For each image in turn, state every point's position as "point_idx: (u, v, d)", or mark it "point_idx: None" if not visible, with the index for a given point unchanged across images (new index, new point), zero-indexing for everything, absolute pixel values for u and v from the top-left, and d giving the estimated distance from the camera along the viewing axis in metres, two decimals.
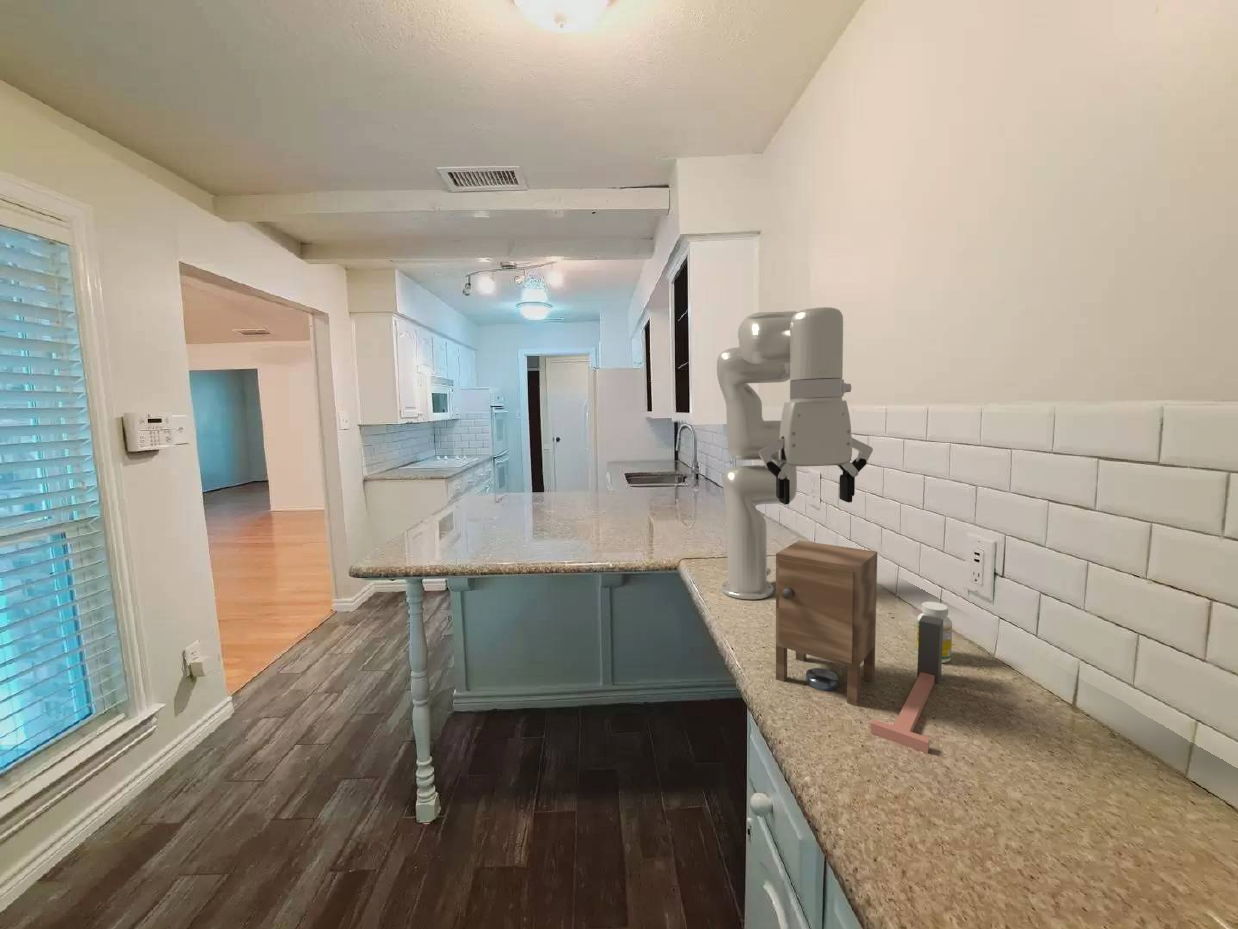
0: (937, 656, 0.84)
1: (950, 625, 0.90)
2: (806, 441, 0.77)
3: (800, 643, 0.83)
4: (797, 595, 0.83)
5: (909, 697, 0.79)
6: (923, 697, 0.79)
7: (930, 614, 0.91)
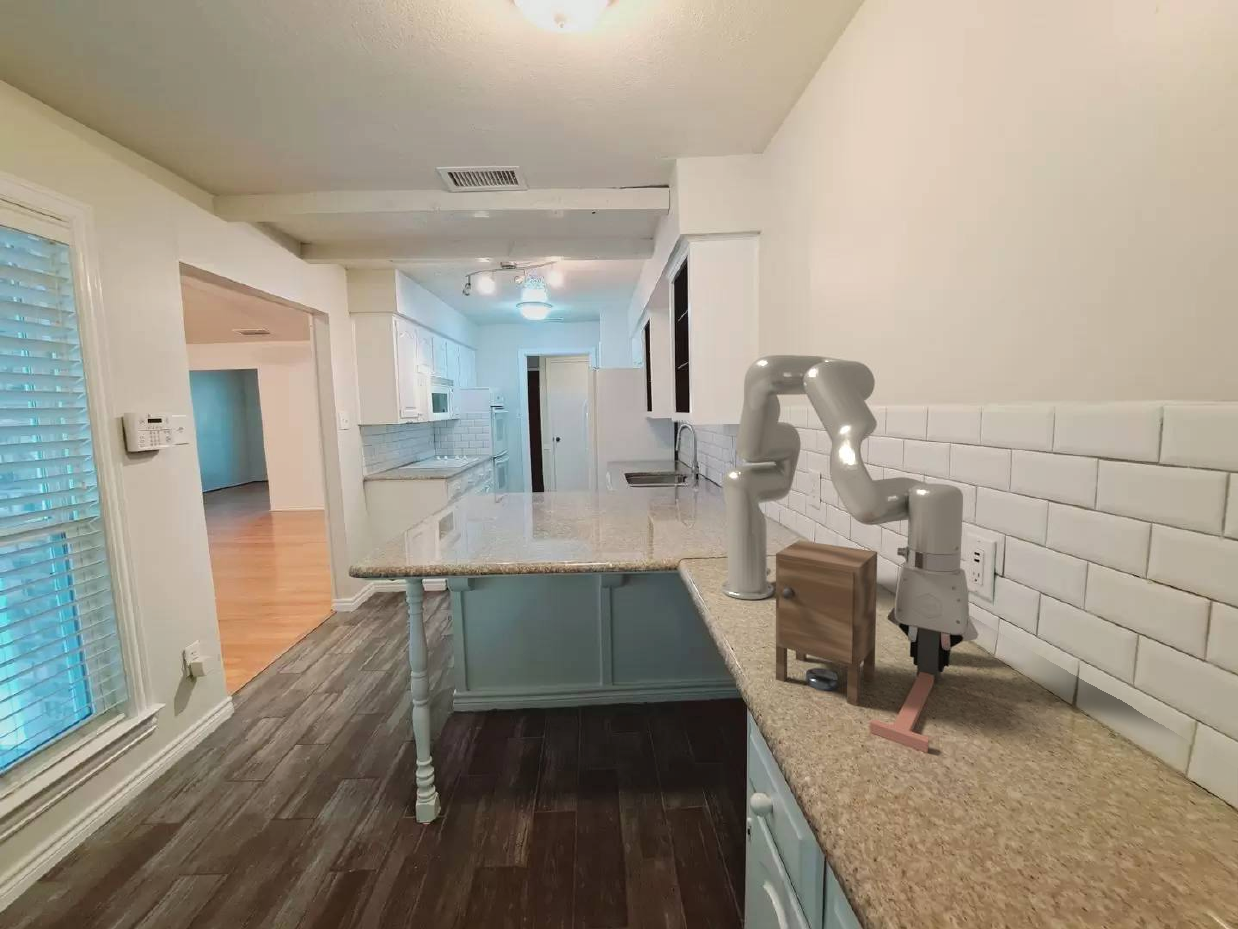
0: (937, 656, 0.84)
1: None
2: None
3: (800, 643, 0.83)
4: (797, 595, 0.83)
5: (909, 697, 0.79)
6: (923, 697, 0.79)
7: None
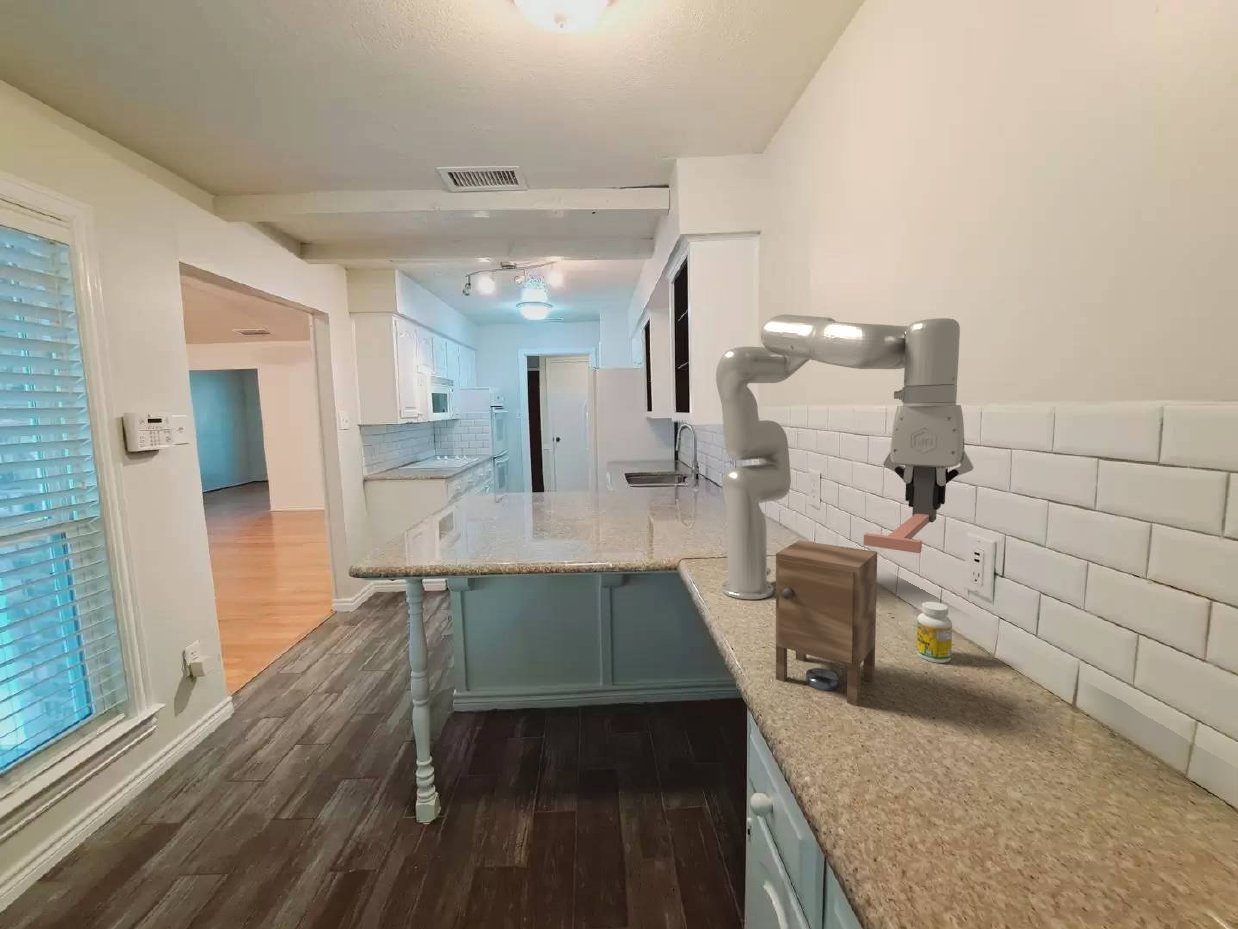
0: (932, 494, 0.84)
1: (950, 625, 0.90)
2: None
3: (800, 643, 0.83)
4: (797, 595, 0.83)
5: (903, 524, 0.79)
6: (917, 524, 0.79)
7: (930, 614, 0.91)
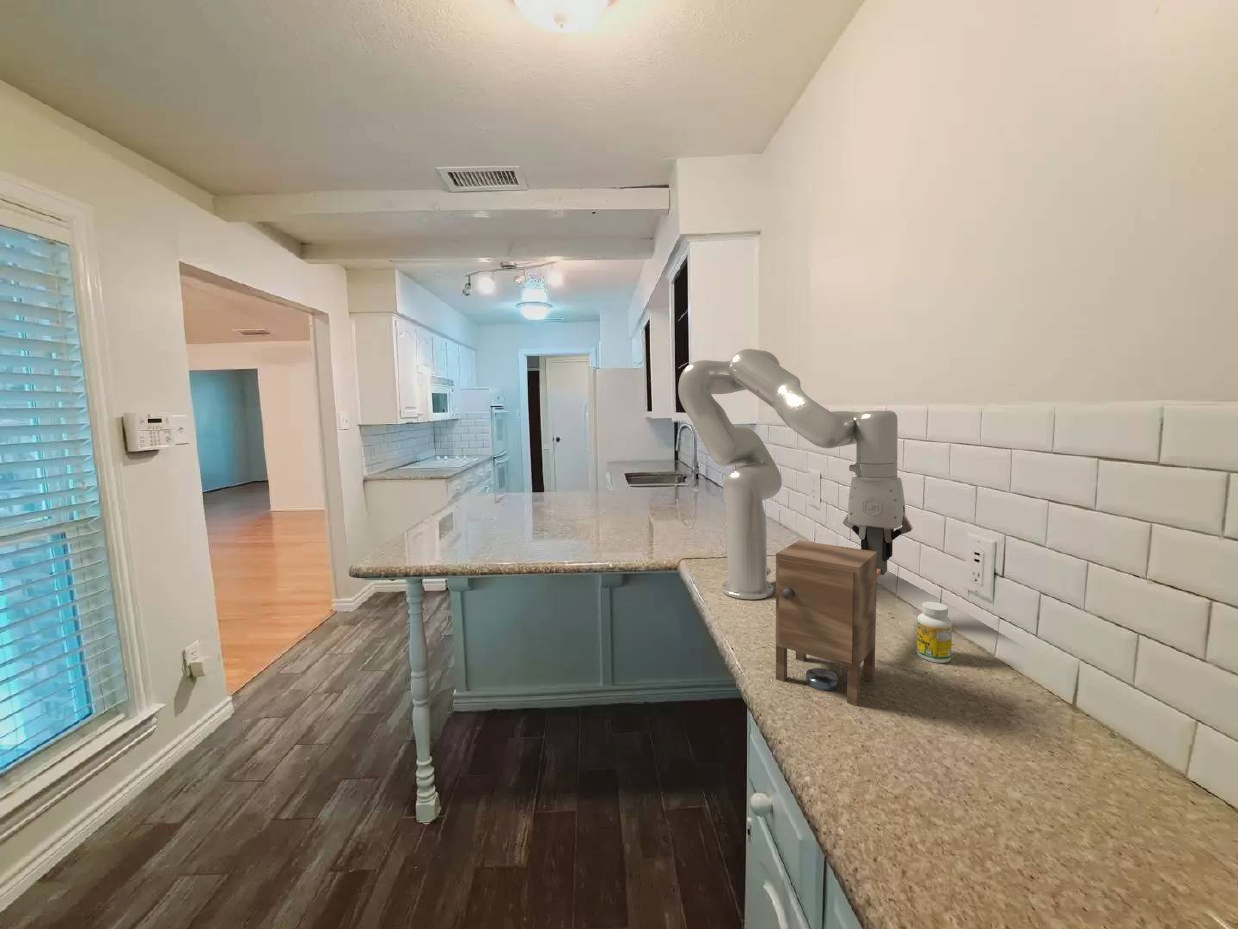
0: None
1: (950, 625, 0.90)
2: None
3: (800, 643, 0.83)
4: (797, 595, 0.83)
5: None
6: None
7: (930, 614, 0.91)
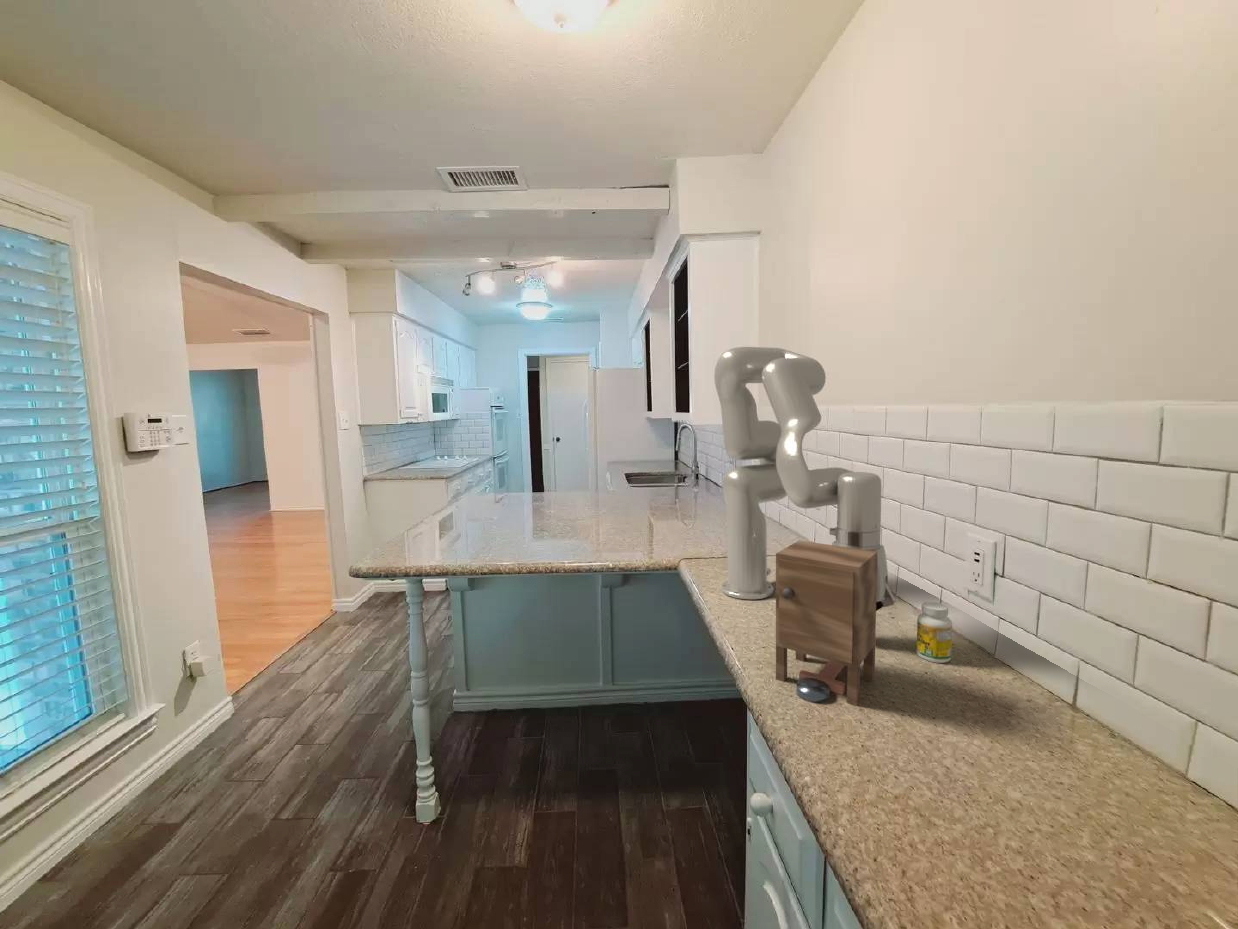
0: None
1: (950, 625, 0.90)
2: None
3: (800, 643, 0.83)
4: (797, 595, 0.83)
5: None
6: None
7: (930, 614, 0.91)
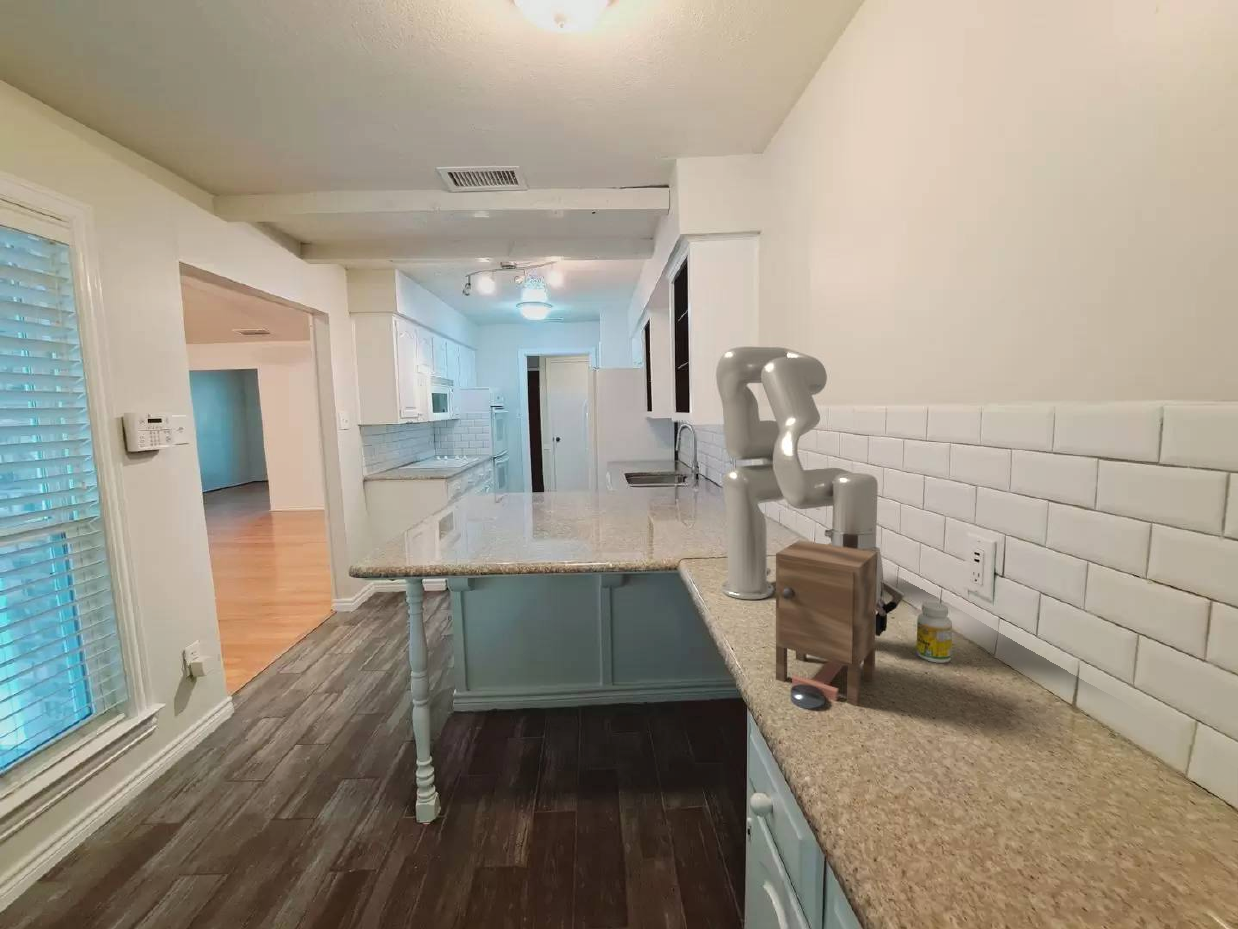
0: None
1: (950, 625, 0.90)
2: None
3: (800, 643, 0.83)
4: (797, 595, 0.83)
5: None
6: None
7: (930, 614, 0.91)
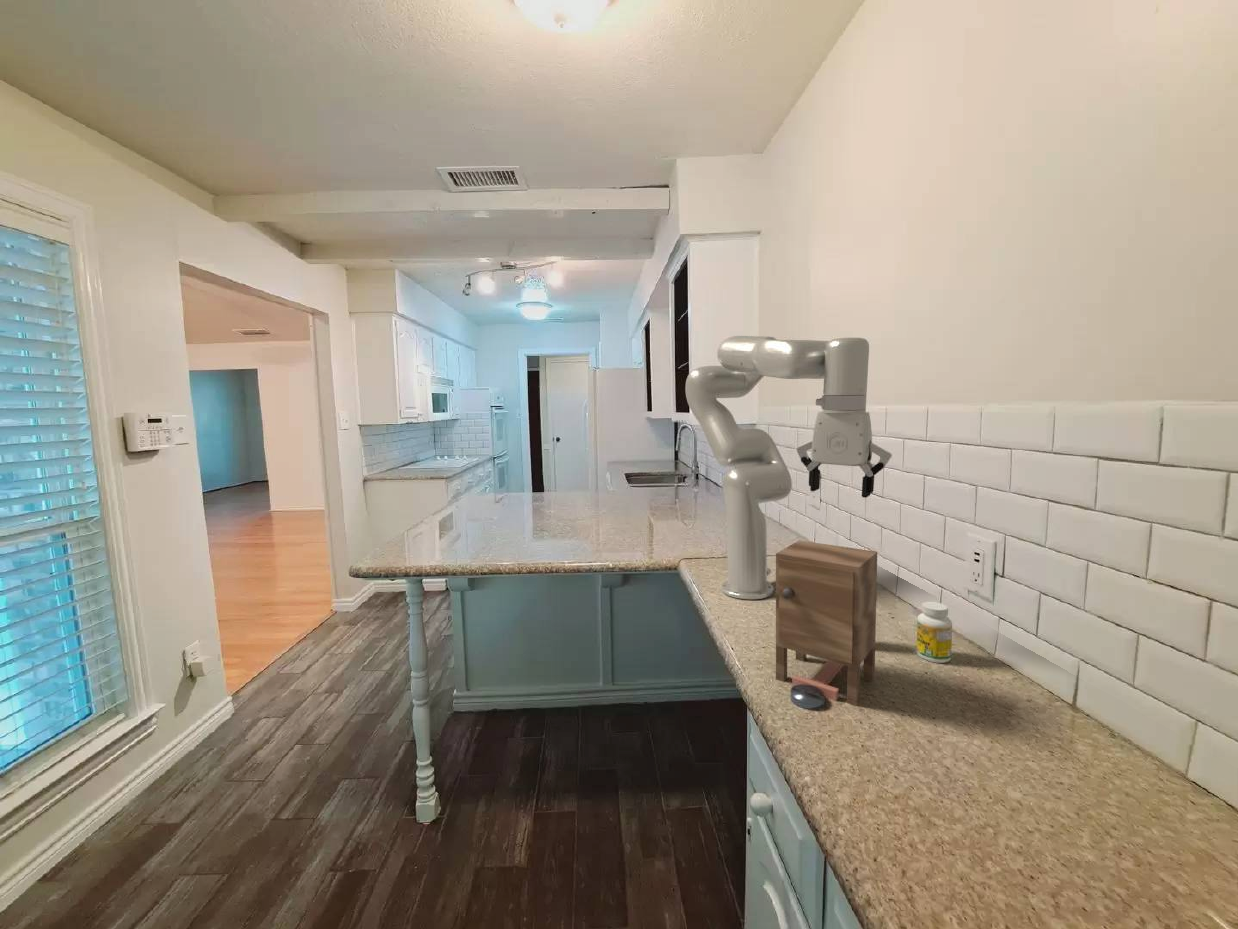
0: None
1: (950, 625, 0.90)
2: None
3: (800, 643, 0.83)
4: (797, 595, 0.83)
5: None
6: None
7: (930, 614, 0.91)
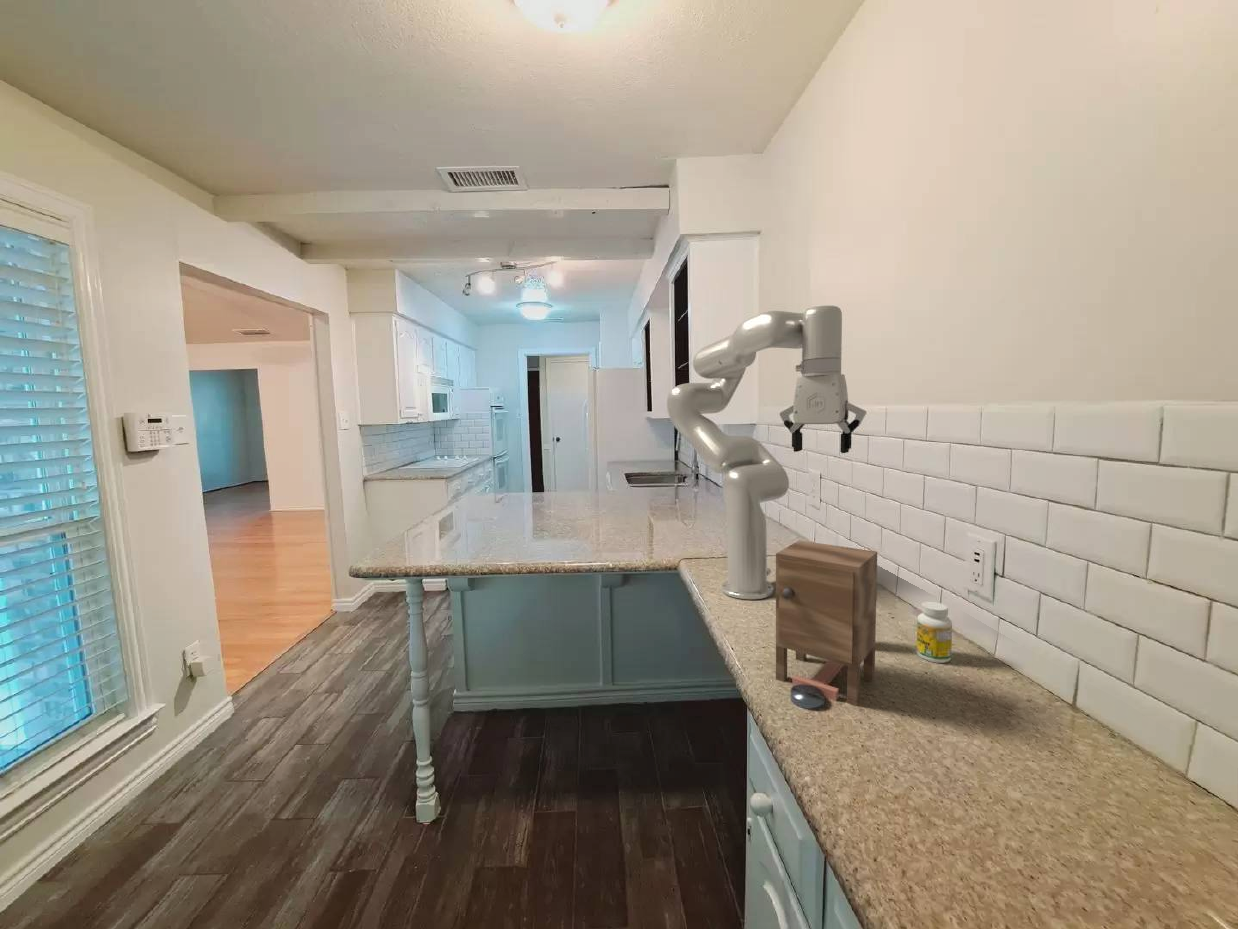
0: None
1: (950, 625, 0.90)
2: None
3: (800, 643, 0.83)
4: (797, 595, 0.83)
5: None
6: None
7: (930, 614, 0.91)
